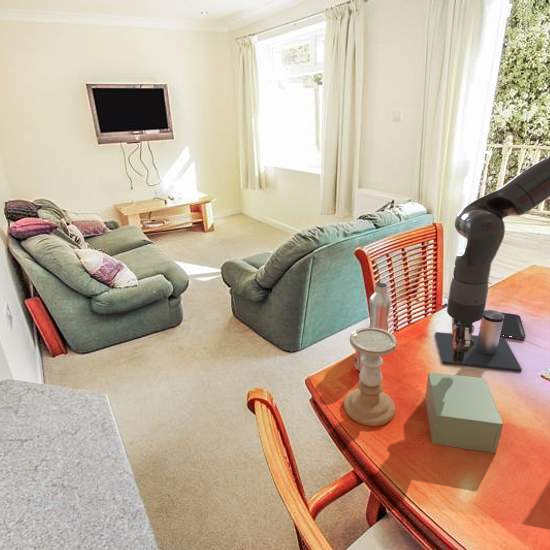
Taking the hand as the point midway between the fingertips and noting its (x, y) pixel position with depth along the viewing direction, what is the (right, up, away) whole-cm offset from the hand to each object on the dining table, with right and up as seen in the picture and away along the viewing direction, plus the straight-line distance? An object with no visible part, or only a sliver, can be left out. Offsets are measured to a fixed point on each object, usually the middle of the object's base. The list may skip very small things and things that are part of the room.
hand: (457, 360), depth 90 cm
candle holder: (-21, -13, +2) cm, 24 cm away
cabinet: (-2, -14, -4) cm, 14 cm away
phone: (+33, +4, +33) cm, 46 cm away
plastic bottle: (-11, -1, +28) cm, 31 cm away
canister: (+19, -2, +20) cm, 28 cm away
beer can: (-19, -6, +17) cm, 26 cm away
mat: (+16, -2, +21) cm, 27 cm away
